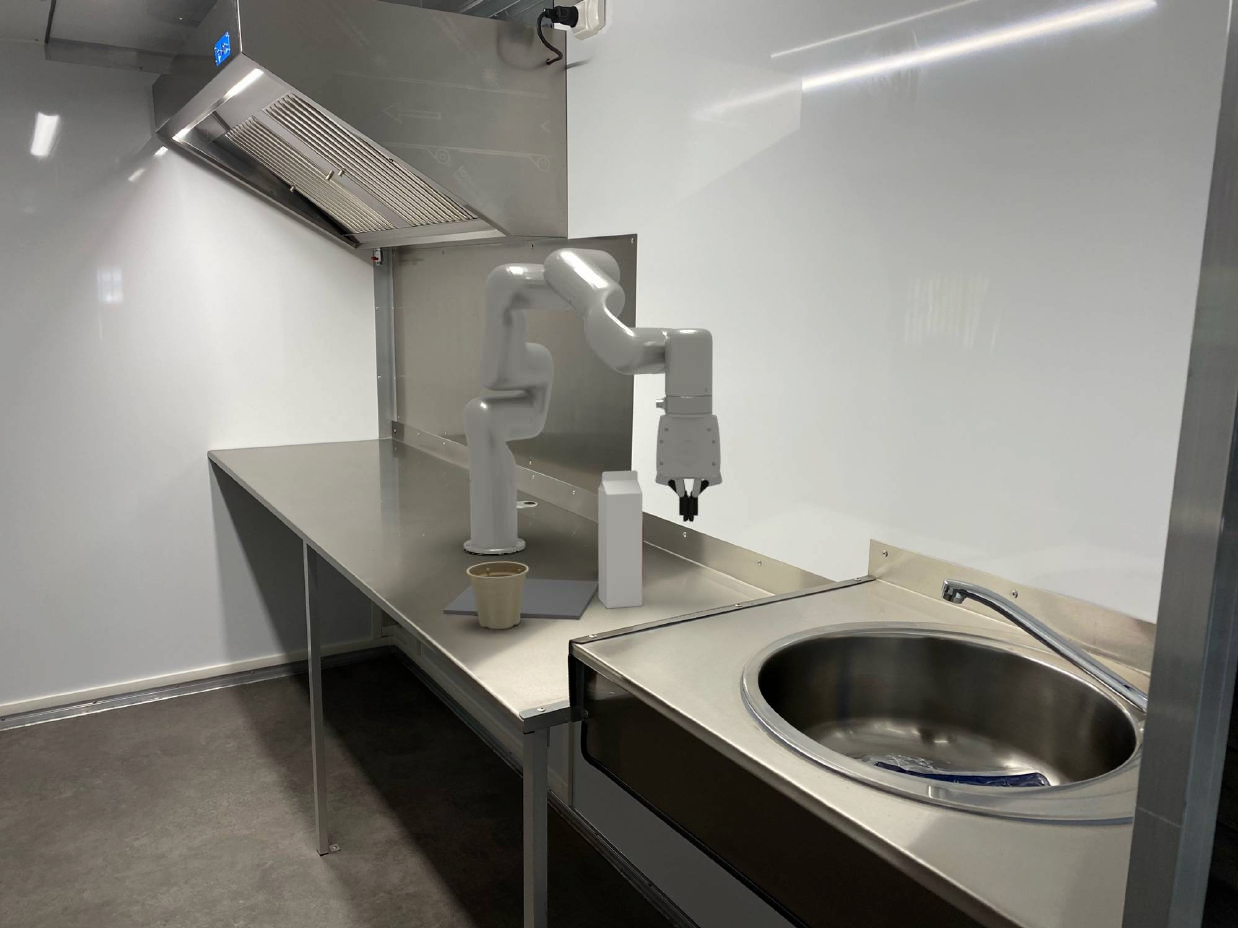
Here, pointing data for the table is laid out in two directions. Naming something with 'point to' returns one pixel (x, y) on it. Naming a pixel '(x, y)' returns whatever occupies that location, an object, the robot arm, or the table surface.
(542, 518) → the table surface
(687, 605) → the table surface
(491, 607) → the flower pot
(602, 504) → the milk
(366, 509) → the table surface
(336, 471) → the table surface
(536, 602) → the mat
